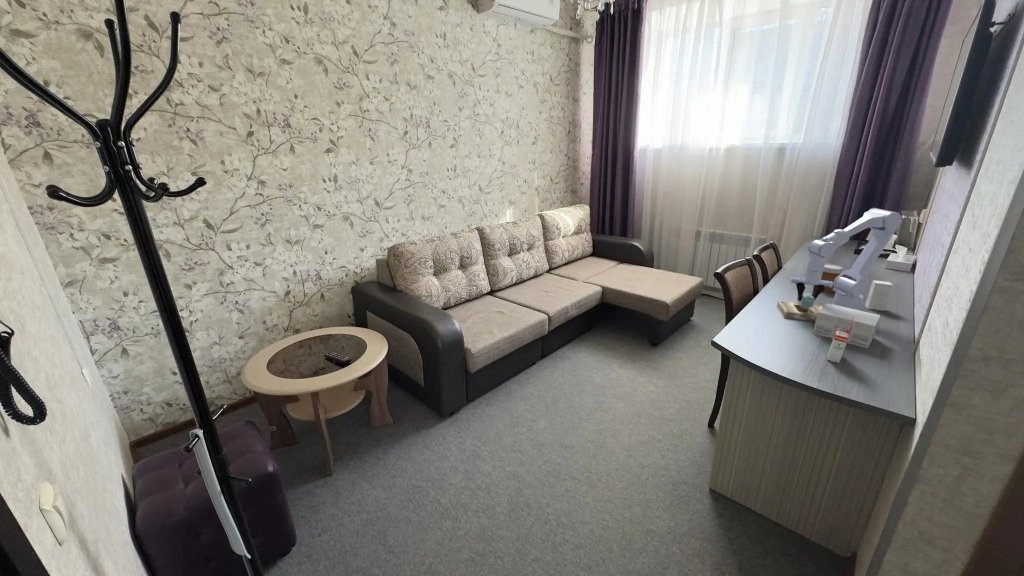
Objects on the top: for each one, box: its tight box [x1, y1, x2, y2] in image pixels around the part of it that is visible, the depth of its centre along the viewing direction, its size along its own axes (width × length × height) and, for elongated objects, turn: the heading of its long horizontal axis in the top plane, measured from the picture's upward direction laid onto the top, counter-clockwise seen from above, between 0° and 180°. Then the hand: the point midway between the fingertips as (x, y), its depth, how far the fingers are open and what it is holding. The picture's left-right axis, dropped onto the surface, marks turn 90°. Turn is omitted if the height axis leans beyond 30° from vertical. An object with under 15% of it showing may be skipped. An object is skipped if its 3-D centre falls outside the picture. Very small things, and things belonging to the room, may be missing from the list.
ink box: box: [826, 317, 854, 364], centre depth 138 cm, size 4×8×15 cm, turn 140°
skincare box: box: [864, 279, 894, 311], centre depth 178 cm, size 6×4×12 cm
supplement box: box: [811, 302, 881, 349], centre depth 155 cm, size 17×13×9 cm
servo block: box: [796, 292, 816, 308], centre depth 171 cm, size 4×9×5 cm, turn 161°
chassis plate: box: [776, 300, 823, 322], centre depth 173 cm, size 16×12×3 cm
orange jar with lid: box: [821, 263, 844, 293], centre depth 198 cm, size 10×10×12 cm
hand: (805, 300), depth 171 cm, fingers closed on servo block, 4 cm apart
